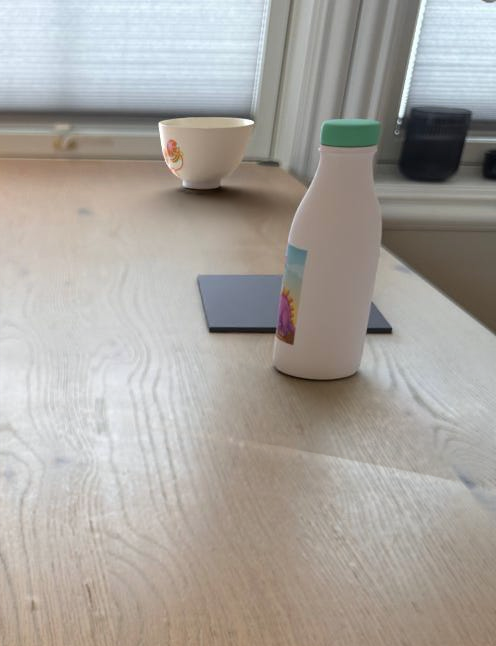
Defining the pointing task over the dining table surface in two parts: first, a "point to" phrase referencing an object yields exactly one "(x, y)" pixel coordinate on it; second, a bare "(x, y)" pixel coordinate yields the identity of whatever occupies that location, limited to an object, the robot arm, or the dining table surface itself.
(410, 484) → the dining table surface
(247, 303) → the placemat
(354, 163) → the milk bottle
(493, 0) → the robot arm
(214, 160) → the bowl
